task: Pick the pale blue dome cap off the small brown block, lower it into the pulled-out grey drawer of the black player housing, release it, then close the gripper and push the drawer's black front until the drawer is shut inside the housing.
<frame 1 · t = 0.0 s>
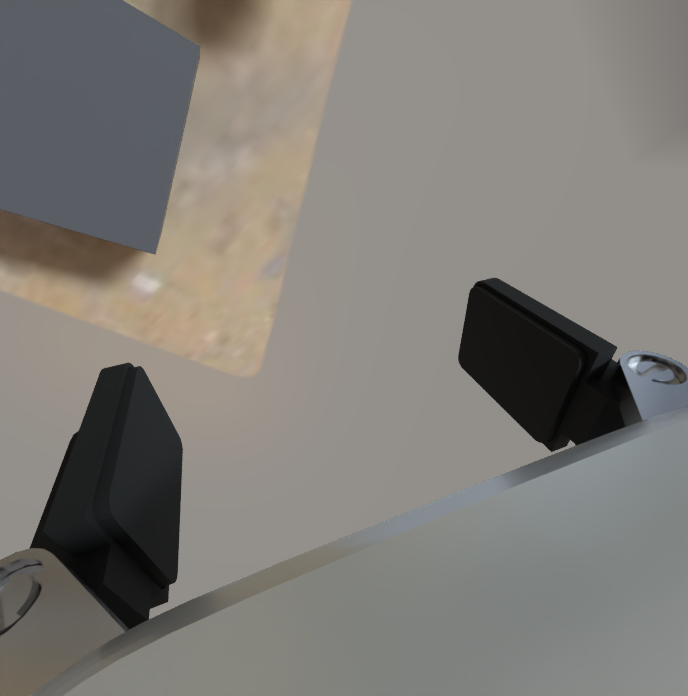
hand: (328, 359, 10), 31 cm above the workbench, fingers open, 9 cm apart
housing: (92, 115, 28), on the workbench
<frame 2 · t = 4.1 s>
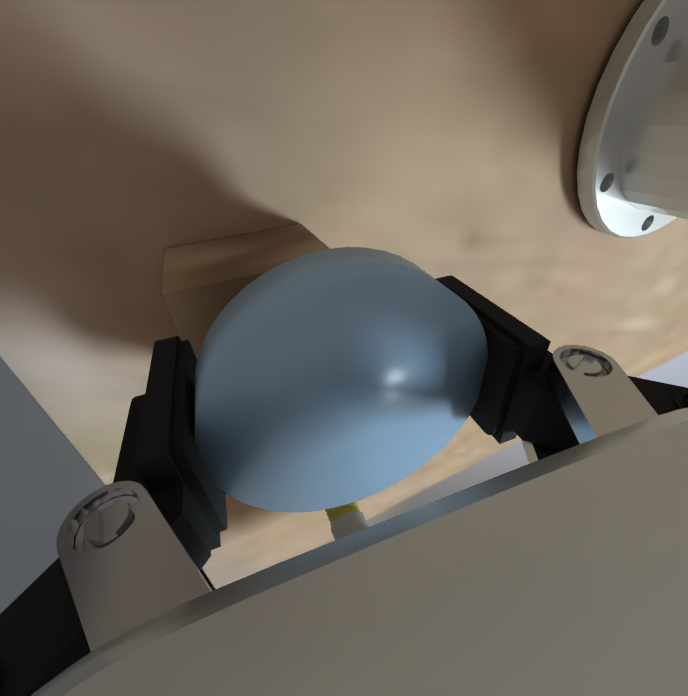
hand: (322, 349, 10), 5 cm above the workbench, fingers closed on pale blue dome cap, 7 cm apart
brown block: (251, 296, 14), on the workbench
light bulb: (333, 489, 24), on the workbench
pale blue dome cap: (336, 376, 9), point 7 cm above the workbench, touching gripper
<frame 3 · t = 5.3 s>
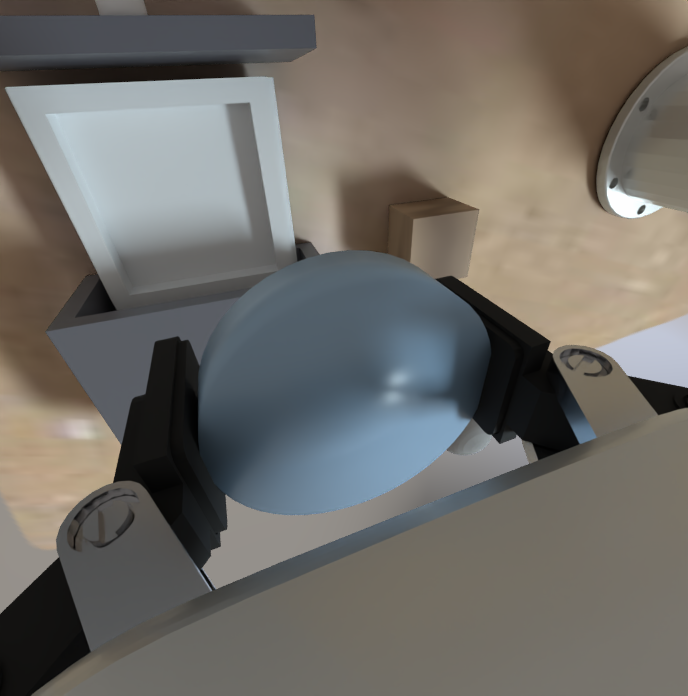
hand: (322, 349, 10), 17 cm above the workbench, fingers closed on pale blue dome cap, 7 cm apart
brown block: (416, 233, 28), on the workbench
light bulb: (423, 375, 38), on the workbench
grey drawer: (175, 181, 18), point 4 cm above the workbench, slide at 10.0 cm
housing: (228, 335, 28), on the workbench
pale blue dome cap: (339, 378, 9), point 18 cm above the workbench, touching gripper
when the fingers open (4 cm above the workbench, at t = 7.6 s): pale blue dome cap drops 3 cm, resting on grey drawer.
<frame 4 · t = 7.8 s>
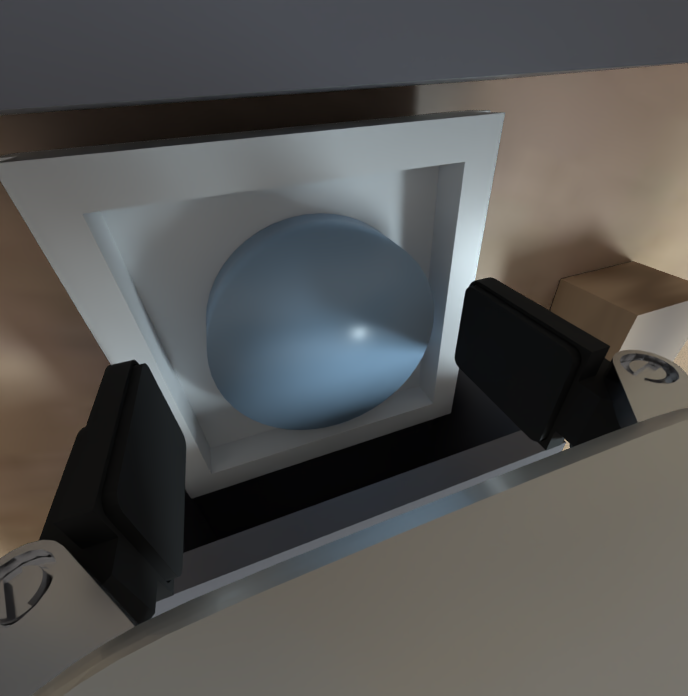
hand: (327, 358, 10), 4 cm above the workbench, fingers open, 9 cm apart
brown block: (581, 310, 20), on the workbench
grey drawer: (316, 308, 10), point 4 cm above the workbench, slide at 10.0 cm, touching pale blue dome cap
housing: (322, 462, 19), on the workbench
pale blue dome cap: (317, 321, 12), point 2 cm above the workbench, touching grey drawer
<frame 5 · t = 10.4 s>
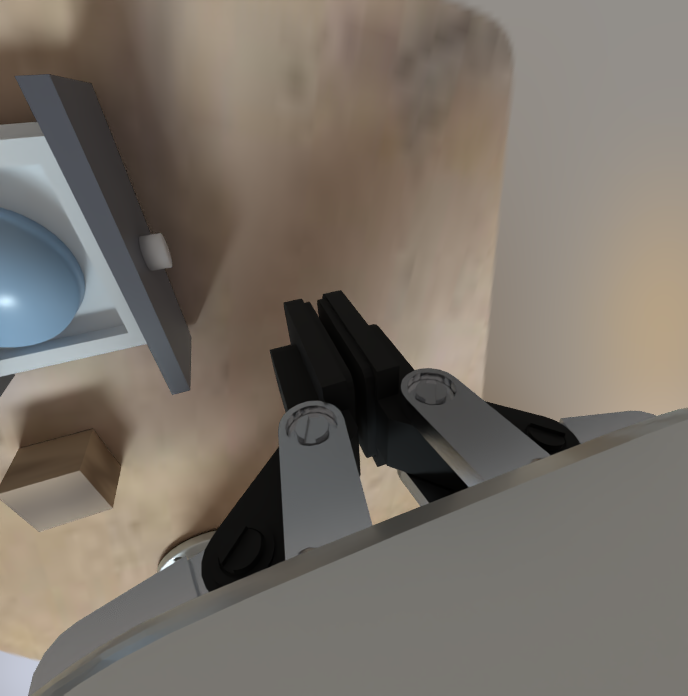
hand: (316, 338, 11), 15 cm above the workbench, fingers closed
brown block: (73, 458, 28), on the workbench
grey drawer: (18, 275, 17), point 4 cm above the workbench, slide at 10.0 cm, touching pale blue dome cap
pale blue dome cap: (2, 274, 18), point 2 cm above the workbench, touching grey drawer
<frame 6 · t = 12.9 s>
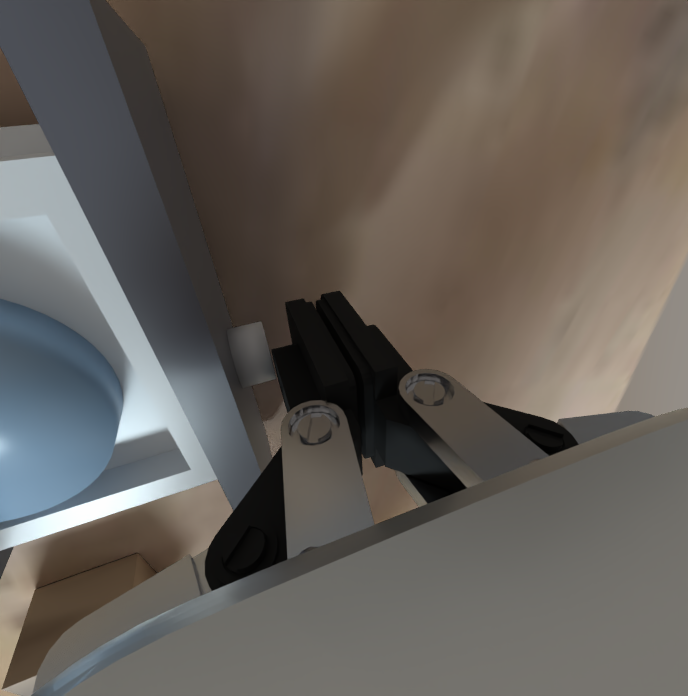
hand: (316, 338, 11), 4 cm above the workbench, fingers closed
brown block: (109, 588, 20), on the workbench
grey drawer: (5, 416, 9), point 4 cm above the workbench, slide at 9.2 cm, touching pale blue dome cap, gripper
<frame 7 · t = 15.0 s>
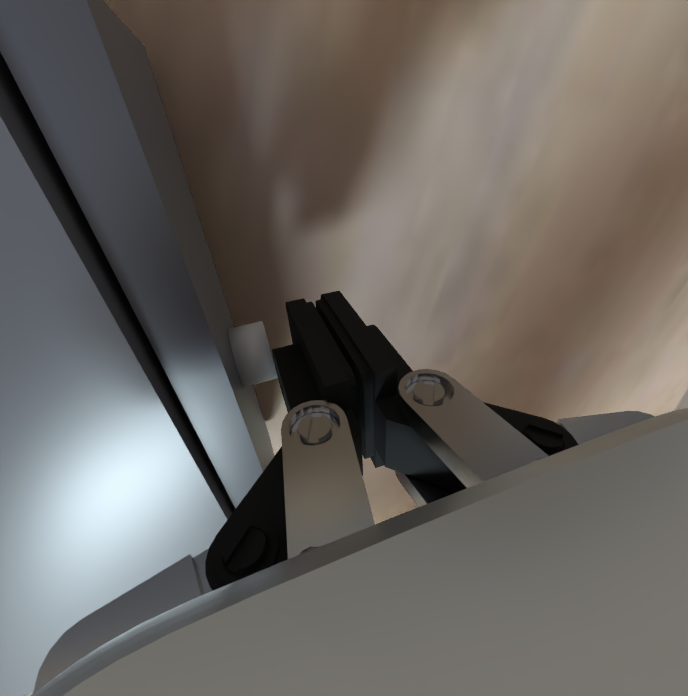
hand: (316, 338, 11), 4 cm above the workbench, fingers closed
grey drawer: (8, 417, 9), point 4 cm above the workbench, slide at -0.1 cm, touching pale blue dome cap, gripper
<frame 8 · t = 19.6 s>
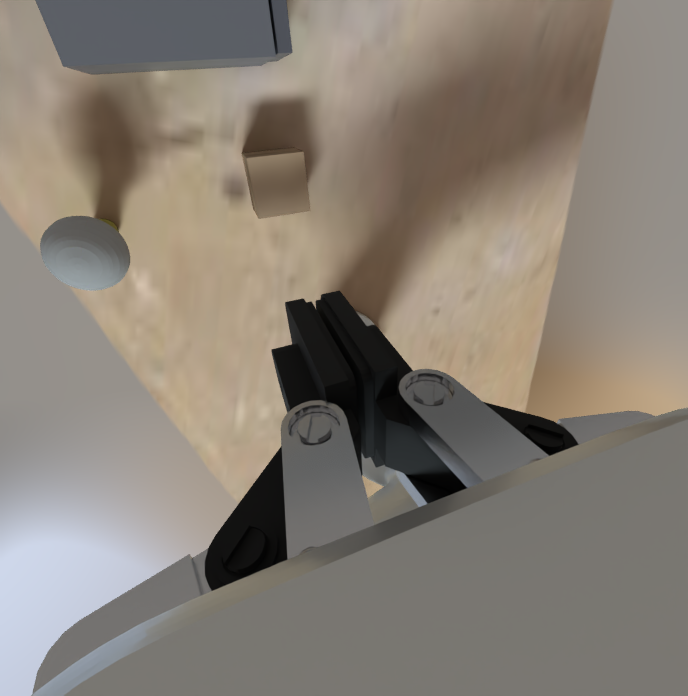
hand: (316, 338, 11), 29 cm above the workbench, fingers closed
brown block: (273, 178, 34), on the workbench
light bulb: (107, 227, 32), on the workbench
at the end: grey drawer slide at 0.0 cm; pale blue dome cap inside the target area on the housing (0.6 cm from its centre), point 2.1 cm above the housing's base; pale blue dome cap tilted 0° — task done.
